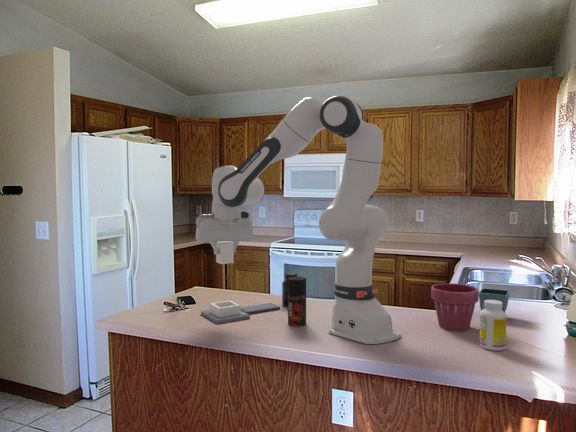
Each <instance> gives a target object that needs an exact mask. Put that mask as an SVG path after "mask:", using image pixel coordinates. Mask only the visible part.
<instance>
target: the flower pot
mask: <svg viewBox="0 0 576 432" xmlns="http://www.w3.org/2000/svg"><path fill="white" fill-rule="evenodd" d="M478 293H479V300H478V302H479V307H480V312H481V311H482V310H483V309H485V306H484V301H485V300H497V301H501V302H502V303H503V307H502V311H504V312H505V313H506V311H507V308H508V305H509V300H510V290H507V289H505V290H504V289H495V288H485V287H484V288H483V287H482V288H481V289H480V290H479V291H478Z"/></svg>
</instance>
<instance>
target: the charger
mask: <svg viewBox="0 0 576 432" xmlns="http://www.w3.org/2000/svg"><path fill="white" fill-rule="evenodd" d="M216 247H217V249H220V254H218V255H215V262H216V263H217V264H220V265H227V264H234V263H235V262H234V257H235V256H234V254H235V253H234V243H233V241H217V245H216Z"/></svg>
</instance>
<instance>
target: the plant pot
mask: <svg viewBox="0 0 576 432" xmlns="http://www.w3.org/2000/svg"><path fill="white" fill-rule="evenodd" d="M430 290H431V291H430V295H431V299H432V300H433V302H434V308H435V313H436V317H437V321H438V326H439V327H440V328H441V329H444V330H447V331H453V332H463V331H468V330H470V326H471V323H472V318H473V315H474V311H475V307H476V303H478V302H479V288H478V287H476V286H474V285H473V286H472V285H468V284H464V283H437V284H433V285H432V286H431V287H430Z"/></svg>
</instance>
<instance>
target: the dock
mask: <svg viewBox="0 0 576 432" xmlns="http://www.w3.org/2000/svg"><path fill="white" fill-rule="evenodd" d="M240 308H241V305H240V304H239V303H237V302H235V301H232V300H225V301H218V302H211V303H209V309H206V310H205V309H203V310H200V315H202V316H203V317H205V318H207V319H208V320H210V321H211V322H213V323H214V324H216V325H219V324H225V323H226V324H227V323H232V322H237V321H243V320H249V319H251V318H250V315H251V314H247V313H245V312H243V311H241V310H240Z"/></svg>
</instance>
